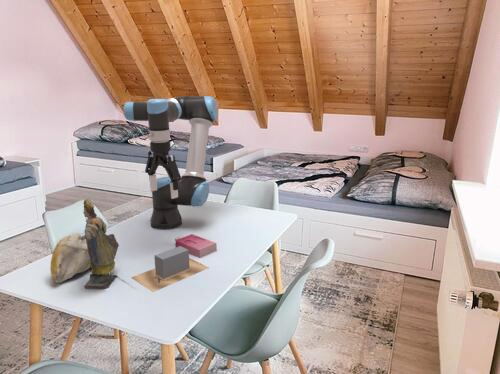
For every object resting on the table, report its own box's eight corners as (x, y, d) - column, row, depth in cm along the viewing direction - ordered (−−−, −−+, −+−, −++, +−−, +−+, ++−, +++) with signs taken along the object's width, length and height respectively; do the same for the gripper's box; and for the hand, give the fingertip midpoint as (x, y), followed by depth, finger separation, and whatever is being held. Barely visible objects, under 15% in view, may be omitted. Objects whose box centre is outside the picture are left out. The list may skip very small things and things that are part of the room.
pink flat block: (184, 230, 171) (216, 242, 159) (184, 241, 173) (216, 253, 160) (167, 236, 165) (199, 249, 152) (167, 247, 166) (200, 261, 153)
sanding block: (181, 266, 146) (180, 246, 144) (189, 270, 143) (188, 249, 141) (155, 276, 138) (154, 255, 136) (163, 280, 135) (162, 259, 133)
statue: (95, 269, 146) (86, 191, 138) (123, 269, 145) (116, 191, 137) (76, 290, 131) (65, 204, 123) (108, 290, 131) (99, 204, 123)
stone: (122, 258, 152) (70, 273, 129) (98, 273, 157) (44, 291, 134) (106, 224, 155) (52, 233, 132) (83, 240, 160) (27, 251, 136)
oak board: (186, 258, 154) (186, 256, 154) (209, 270, 145) (209, 267, 145) (131, 280, 138) (130, 277, 137) (153, 294, 128) (153, 291, 128)
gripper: (133, 138, 154) (138, 189, 160) (172, 146, 138) (176, 203, 144) (149, 135, 159) (153, 185, 166) (188, 143, 143) (191, 198, 150)
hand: (164, 194), depth 155 cm, fingers open, 13 cm apart
